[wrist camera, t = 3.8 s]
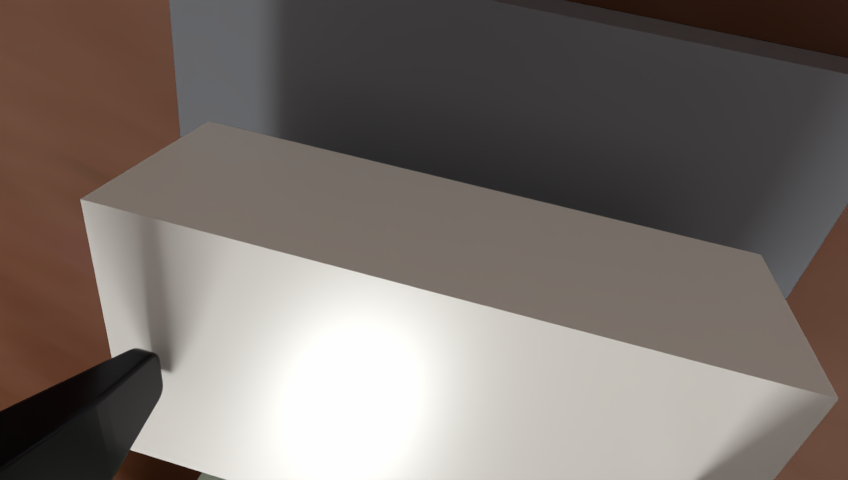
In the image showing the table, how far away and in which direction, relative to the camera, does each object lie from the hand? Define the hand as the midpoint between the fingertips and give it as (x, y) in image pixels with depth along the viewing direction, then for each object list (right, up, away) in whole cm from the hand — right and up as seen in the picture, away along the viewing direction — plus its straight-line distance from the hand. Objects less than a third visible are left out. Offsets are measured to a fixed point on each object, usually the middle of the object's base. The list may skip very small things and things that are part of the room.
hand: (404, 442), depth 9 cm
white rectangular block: (+1, +2, +3) cm, 4 cm away
